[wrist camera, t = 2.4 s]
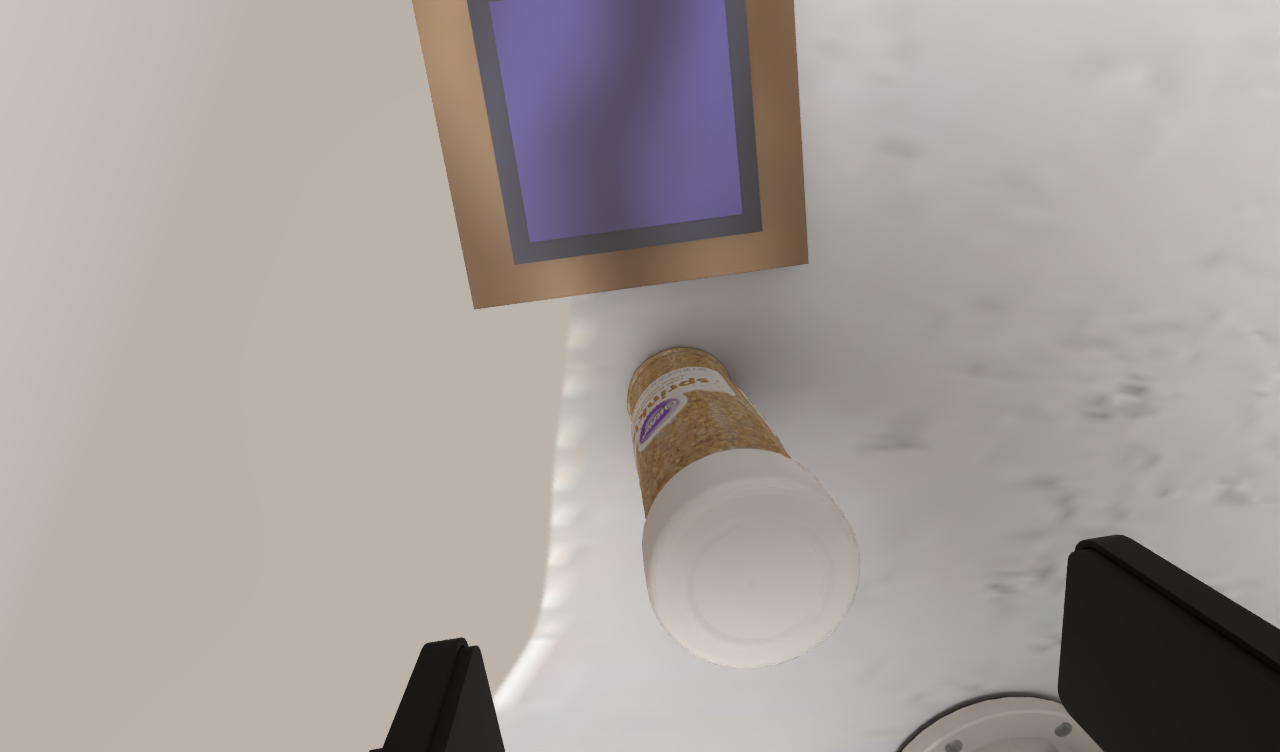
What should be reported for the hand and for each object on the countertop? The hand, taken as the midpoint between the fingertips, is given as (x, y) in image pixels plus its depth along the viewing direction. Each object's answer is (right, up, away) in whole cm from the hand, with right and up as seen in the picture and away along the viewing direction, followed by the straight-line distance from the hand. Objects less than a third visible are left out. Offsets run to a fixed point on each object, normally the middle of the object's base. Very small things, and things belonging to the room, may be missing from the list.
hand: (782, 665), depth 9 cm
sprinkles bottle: (-1, +4, +16) cm, 17 cm away
